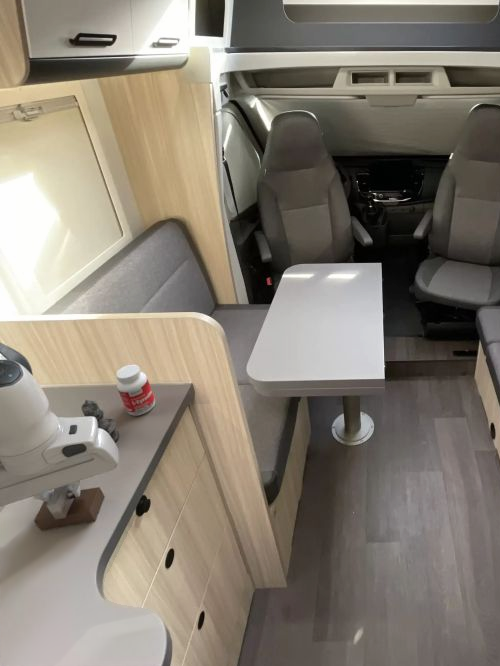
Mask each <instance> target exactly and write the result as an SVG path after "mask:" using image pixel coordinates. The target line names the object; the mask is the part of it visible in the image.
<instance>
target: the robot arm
mask: <svg viewBox="0 0 500 666" xmlns="http://www.w3.org/2000/svg"><path fill="white" fill-rule="evenodd" d="M119 463H120V450H119V448H118V446H117V443H115V442H114V441H113V439H112V438H111V436H110V435H109V434H108V433H107V432H106V431H105V430H103V429H101V428H98V422H97V419H96V418H95V417H92V416H88V417H85V416H75V417H62V416H61V417H58V416H57V415H56V414H55V413H54V412H53V411H51V409H50V402H49V398H48V397H47V395H46V393H45V392H44V390H43V388H42V387H41V384H39V382H38V381H37V379H36V378H35V377H34V374H33V369H32V366H31V363H30V361H29V360H28V358H26V356H25V355H23V354H22V353H21V352H19V351H17V350H16V349H14V348H12V347H11V346H9V345H6V344H5V343H2V342H0V508H1V507H4V506H8V505H10V504H13V503H16V502H19V501H23V500H26V499H29V498H31V497H33V498H34V499H35V500H39V501H43V502H44V501H47V503H48V502H49V500H50V498H51V496H52V494H53V492H54V490H55V489H56V488H59V487H62V486H65V485H68V484H69V485H70V487H69V489H68V491H67V496H68V497H69V499H73V498H76V497H79V496H80V490H81V487H80V484H81V481H83V480H86V479H90V478H92V477H95V476H98V475H101V474H103V473H107V472H110V471H114V470H115V469H116V468H117V467H118V465H119Z"/></svg>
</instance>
